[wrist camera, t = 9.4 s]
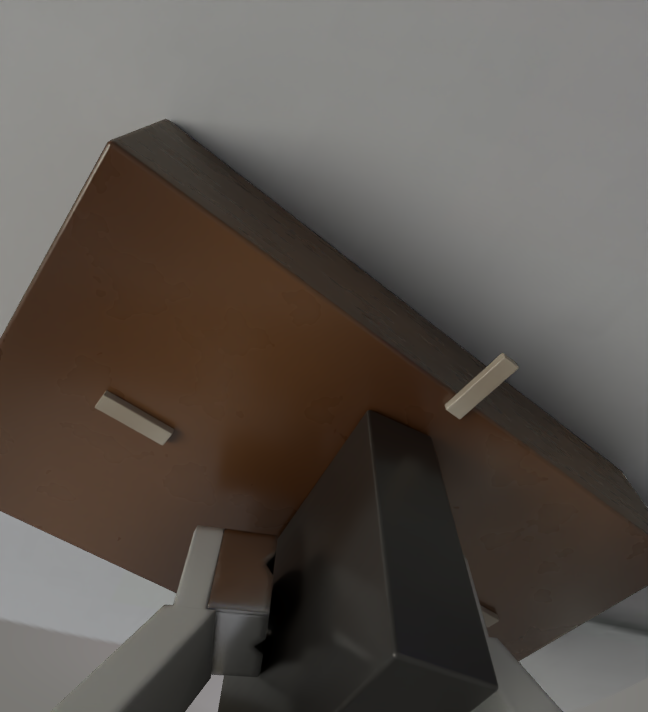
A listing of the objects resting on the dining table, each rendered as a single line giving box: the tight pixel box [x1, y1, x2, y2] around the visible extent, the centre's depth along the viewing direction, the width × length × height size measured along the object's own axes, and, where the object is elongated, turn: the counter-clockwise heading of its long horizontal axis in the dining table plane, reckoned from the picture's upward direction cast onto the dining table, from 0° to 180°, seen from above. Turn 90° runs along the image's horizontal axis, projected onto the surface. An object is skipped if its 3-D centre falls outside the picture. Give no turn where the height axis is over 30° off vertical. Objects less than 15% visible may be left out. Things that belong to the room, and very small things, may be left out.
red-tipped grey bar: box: [218, 410, 498, 712], centre depth 9 cm, size 6×1×5 cm, turn 152°
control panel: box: [0, 119, 648, 661], centre depth 12 cm, size 14×10×3 cm
